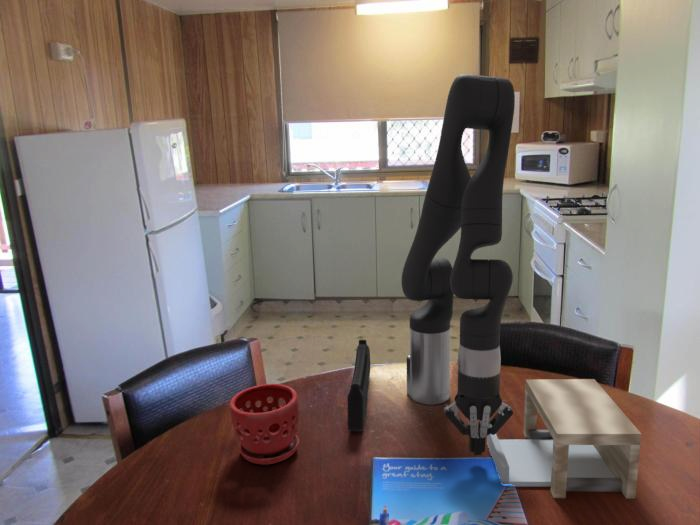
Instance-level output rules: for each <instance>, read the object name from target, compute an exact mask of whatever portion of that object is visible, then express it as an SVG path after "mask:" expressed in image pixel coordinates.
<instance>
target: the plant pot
mask: <svg viewBox="0 0 700 525" xmlns="http://www.w3.org/2000/svg"><path fill="white" fill-rule="evenodd" d="M268 398H272V401H269V400H268ZM298 398H299V397H298V394H297V391H296V390H295V389H294V388H293V387H291V386H289V385H286V384H279V383H264V384H258V385H255V386H251V387H248V388H246V389H243V390H241V391H239V392H238V393H236V394H235V395H234V396H233V397H232V398H231V400H230V402H229V410H230V417H231V422H232V426H233V429H234V434H235V436H236V439H237V440H238V441H239V443H240V445H239V452H240V454H241V456H242V458H244V459H245V460H247V462H250V463H252V464H257V465H265V466H268V465H272V464H277V463H280V462H283V461H285V460H286V459H289V458H290V457H291V456H293V454H294V453H295V452H296V450H298V447H299V445H300V439H299V436H298V435H297V430H298V426H299V412H300V411H299V399H298ZM280 399H282V400H284V402H285V405H284V406H282V405H281V404H280V403H279V400H280ZM258 401H259V402H260V405H258V406H257V405H256V403H257V402H258ZM247 402H250V403H249V405H247ZM265 407H266V408H267V409H266V410H265V409H264V408H265ZM273 408H276V409H274V410H273ZM240 409H242V410H240ZM251 411H252V412H251Z"/></svg>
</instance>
